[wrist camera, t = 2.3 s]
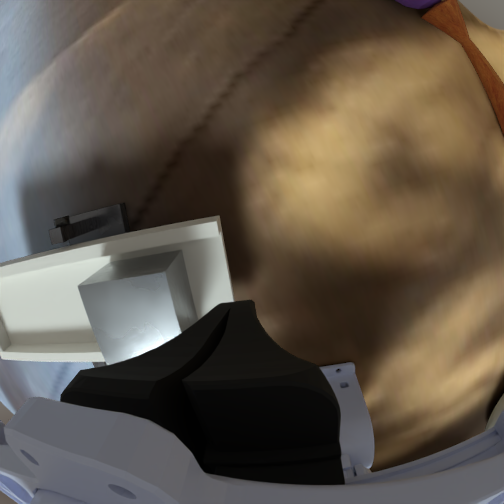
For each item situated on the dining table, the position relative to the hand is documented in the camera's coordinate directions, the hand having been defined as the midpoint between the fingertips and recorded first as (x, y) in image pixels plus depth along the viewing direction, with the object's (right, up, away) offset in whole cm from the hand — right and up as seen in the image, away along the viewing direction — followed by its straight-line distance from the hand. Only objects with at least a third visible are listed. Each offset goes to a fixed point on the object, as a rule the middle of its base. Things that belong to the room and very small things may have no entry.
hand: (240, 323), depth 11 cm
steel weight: (-6, 0, +7) cm, 9 cm away
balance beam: (-12, -1, +7) cm, 14 cm away
